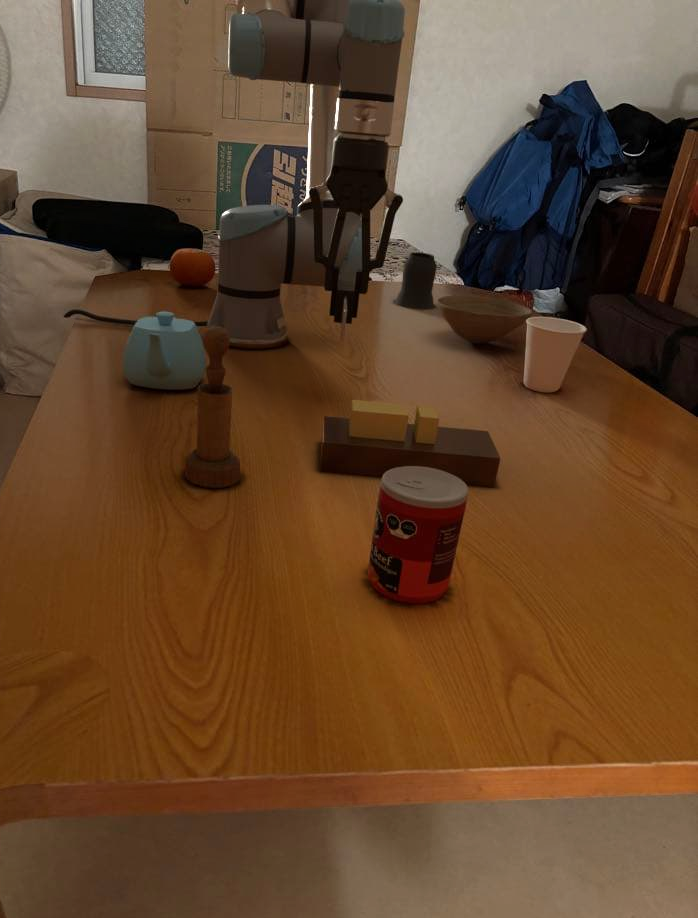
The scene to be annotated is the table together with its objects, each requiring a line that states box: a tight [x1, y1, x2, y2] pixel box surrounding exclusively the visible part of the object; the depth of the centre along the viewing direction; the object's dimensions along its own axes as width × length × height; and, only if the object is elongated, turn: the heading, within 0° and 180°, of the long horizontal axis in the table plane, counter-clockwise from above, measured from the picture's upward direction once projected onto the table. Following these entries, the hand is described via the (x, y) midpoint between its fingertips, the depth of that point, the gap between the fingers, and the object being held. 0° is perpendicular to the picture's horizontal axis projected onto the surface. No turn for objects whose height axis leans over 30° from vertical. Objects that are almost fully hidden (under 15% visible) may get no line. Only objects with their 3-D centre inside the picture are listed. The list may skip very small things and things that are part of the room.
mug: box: [395, 251, 438, 310], centre depth 183 cm, size 12×9×11 cm
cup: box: [522, 316, 588, 393], centre depth 132 cm, size 10×10×11 cm
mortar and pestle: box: [184, 327, 241, 489], centre depth 89 cm, size 7×6×18 cm
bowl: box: [436, 294, 533, 344], centre depth 156 cm, size 18×18×8 cm
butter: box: [349, 399, 410, 441], centre depth 98 cm, size 7×4×4 cm, turn 87°
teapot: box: [122, 310, 207, 391], centre depth 119 cm, size 13×11×18 cm
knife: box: [333, 280, 355, 342], centre depth 109 cm, size 19×3×5 cm, turn 176°
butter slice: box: [413, 405, 440, 444], centre depth 98 cm, size 2×4×4 cm, turn 177°
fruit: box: [169, 247, 216, 287], centre depth 181 cm, size 11×10×8 cm
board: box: [319, 415, 501, 488], centre depth 100 cm, size 22×9×4 cm, turn 87°
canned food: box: [367, 466, 469, 604], centre depth 73 cm, size 8×8×11 cm
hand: (343, 314), depth 115 cm, fingers closed on knife, 3 cm apart
